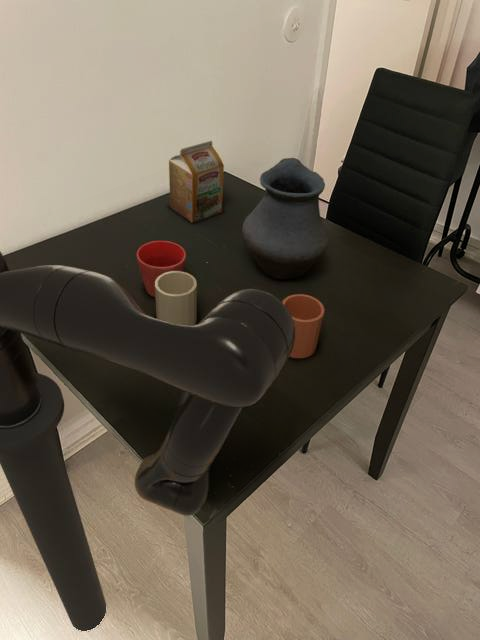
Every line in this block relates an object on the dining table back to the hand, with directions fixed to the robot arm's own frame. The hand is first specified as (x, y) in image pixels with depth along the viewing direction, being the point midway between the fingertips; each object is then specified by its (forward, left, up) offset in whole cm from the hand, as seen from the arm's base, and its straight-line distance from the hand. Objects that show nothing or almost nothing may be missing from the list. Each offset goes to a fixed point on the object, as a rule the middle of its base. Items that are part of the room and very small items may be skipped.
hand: (229, 331), depth 97 cm
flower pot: (-3, +26, -7) cm, 27 cm away
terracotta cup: (+15, -3, -7) cm, 17 cm away
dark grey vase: (+27, +22, -7) cm, 36 cm away
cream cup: (-4, +15, -7) cm, 17 cm away
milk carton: (+20, +56, -7) cm, 60 cm away
